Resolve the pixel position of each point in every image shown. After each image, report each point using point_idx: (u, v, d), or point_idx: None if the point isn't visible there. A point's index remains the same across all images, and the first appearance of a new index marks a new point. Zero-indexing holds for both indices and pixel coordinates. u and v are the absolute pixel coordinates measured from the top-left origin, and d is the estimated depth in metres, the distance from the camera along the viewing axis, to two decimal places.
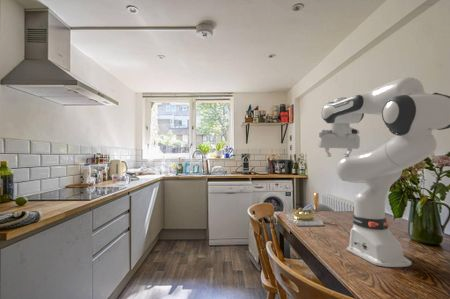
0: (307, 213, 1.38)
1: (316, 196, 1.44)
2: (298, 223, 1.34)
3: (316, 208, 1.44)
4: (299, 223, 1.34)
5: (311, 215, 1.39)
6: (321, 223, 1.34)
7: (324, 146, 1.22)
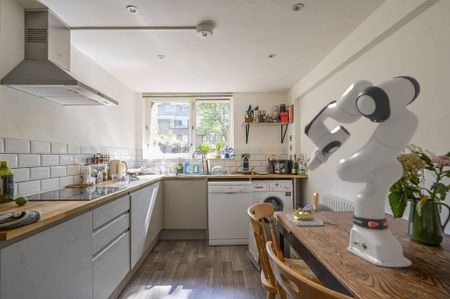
0: (307, 213, 1.38)
1: (316, 196, 1.44)
2: (298, 223, 1.34)
3: (316, 208, 1.44)
4: (299, 223, 1.34)
5: (311, 215, 1.39)
6: (321, 223, 1.34)
7: None
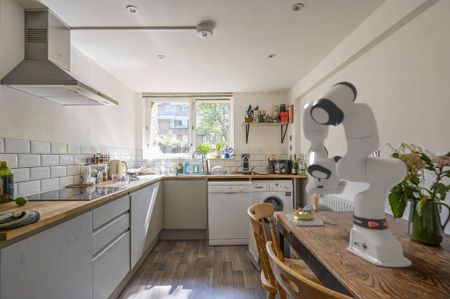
0: (307, 213, 1.38)
1: (316, 196, 1.44)
2: (298, 223, 1.34)
3: (316, 208, 1.44)
4: (299, 223, 1.34)
5: (311, 215, 1.39)
6: (321, 223, 1.34)
7: None
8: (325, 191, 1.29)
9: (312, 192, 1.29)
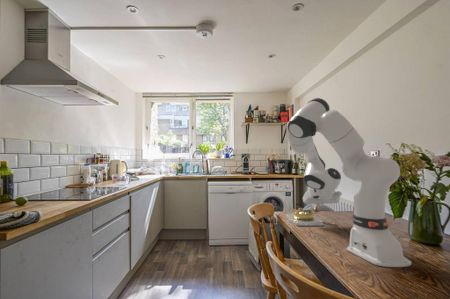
0: (307, 213, 1.38)
1: None
2: (298, 223, 1.34)
3: (316, 208, 1.44)
4: (299, 223, 1.34)
5: (311, 215, 1.39)
6: (321, 223, 1.34)
7: None
8: (321, 201, 1.37)
9: (308, 201, 1.37)
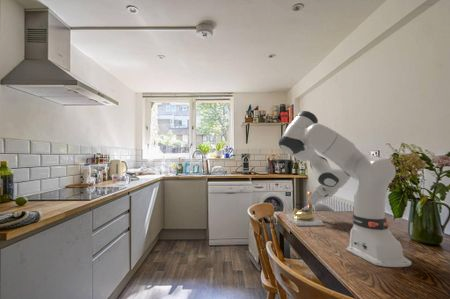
0: (313, 212, 1.40)
1: None
2: (298, 223, 1.34)
3: (311, 206, 1.49)
4: (299, 223, 1.34)
5: None
6: (321, 223, 1.34)
7: None
8: (321, 198, 1.44)
9: (315, 201, 1.39)
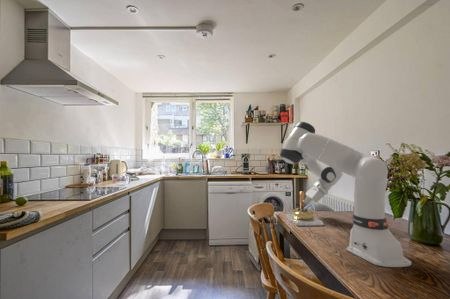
0: None
1: (303, 194, 1.52)
2: (298, 223, 1.34)
3: (303, 205, 1.52)
4: (299, 223, 1.34)
5: None
6: (321, 223, 1.34)
7: (306, 193, 1.60)
8: None
9: None
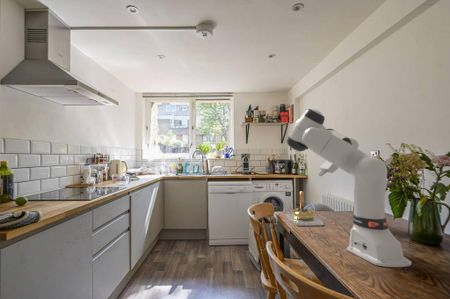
0: None
1: (303, 194, 1.52)
2: (298, 223, 1.34)
3: (303, 205, 1.52)
4: (299, 223, 1.34)
5: None
6: (321, 223, 1.34)
7: (320, 166, 1.58)
8: None
9: None
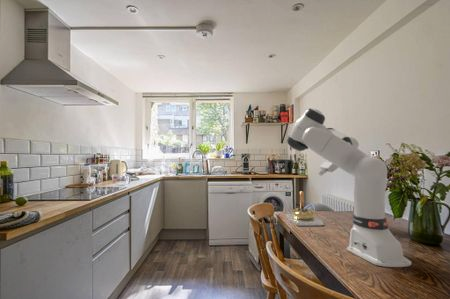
0: None
1: (303, 194, 1.52)
2: (298, 223, 1.34)
3: (303, 205, 1.52)
4: (299, 223, 1.34)
5: None
6: (321, 223, 1.34)
7: (320, 166, 1.58)
8: None
9: None
